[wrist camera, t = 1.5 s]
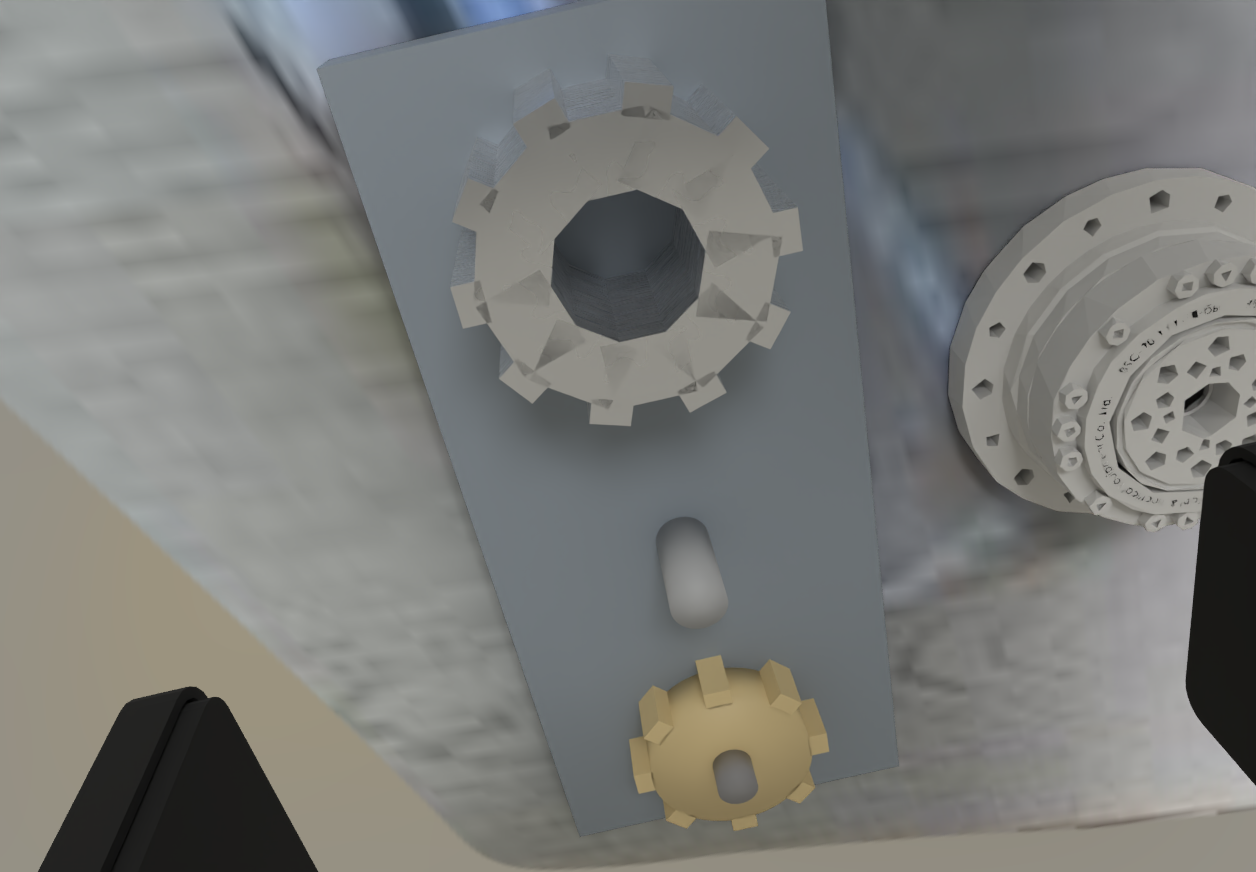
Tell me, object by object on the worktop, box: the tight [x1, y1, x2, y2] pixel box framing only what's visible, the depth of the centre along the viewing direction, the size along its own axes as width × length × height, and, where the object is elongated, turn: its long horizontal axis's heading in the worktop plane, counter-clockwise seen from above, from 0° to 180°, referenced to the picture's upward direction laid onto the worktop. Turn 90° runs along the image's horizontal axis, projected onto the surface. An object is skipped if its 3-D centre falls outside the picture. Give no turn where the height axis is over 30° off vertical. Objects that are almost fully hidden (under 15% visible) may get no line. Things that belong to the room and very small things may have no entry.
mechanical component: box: [948, 168, 1256, 532], centre depth 26 cm, size 10×4×10 cm
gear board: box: [317, 0, 899, 837], centre depth 26 cm, size 25×11×4 cm, turn 11°
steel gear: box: [450, 54, 803, 426], centre depth 21 cm, size 7×7×4 cm
